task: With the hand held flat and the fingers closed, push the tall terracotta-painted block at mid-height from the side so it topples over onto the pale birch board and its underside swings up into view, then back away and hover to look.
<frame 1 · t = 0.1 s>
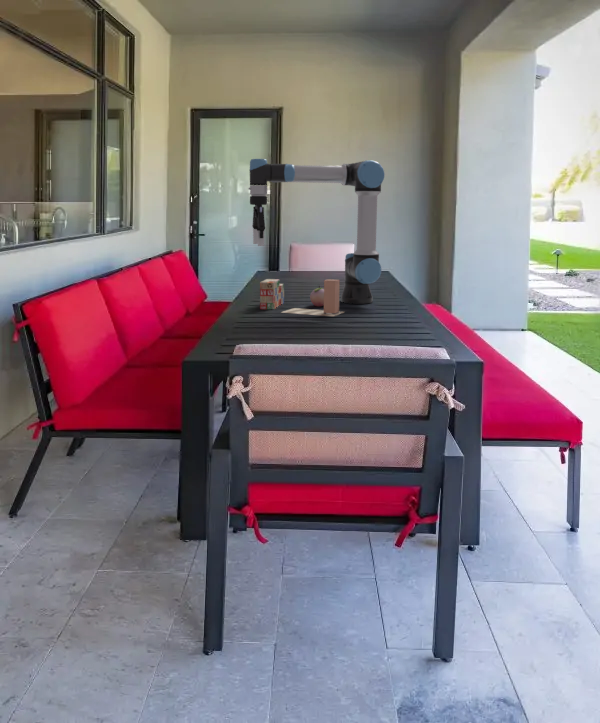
hand: (258, 245, 336), 28 cm above the table, tool pointing down, fingers open, 13 cm apart
block: (331, 313, 323), point 1 cm above the table, touching board
decorative fruit: (319, 308, 344), on the table
board: (313, 314, 325), on the table
stack of blocks: (272, 306, 349), on the table
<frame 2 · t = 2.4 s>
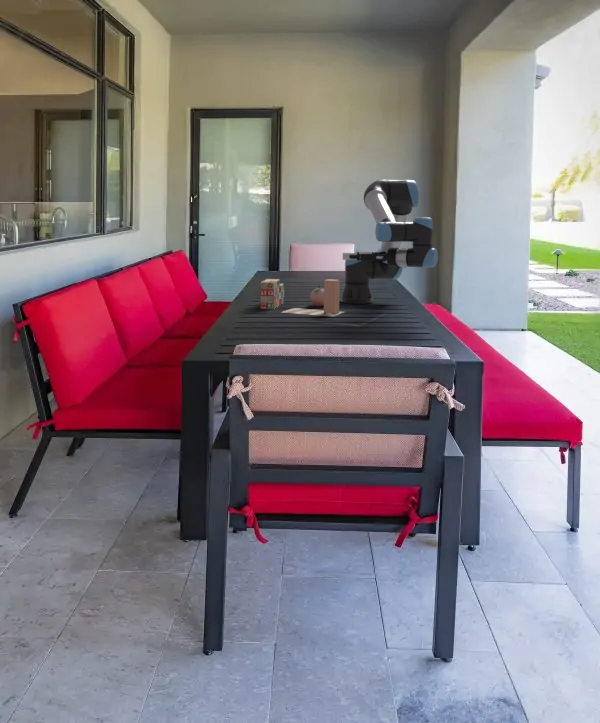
hand: (349, 255, 315), 25 cm above the table, tool horizontal, fingers open, 13 cm apart
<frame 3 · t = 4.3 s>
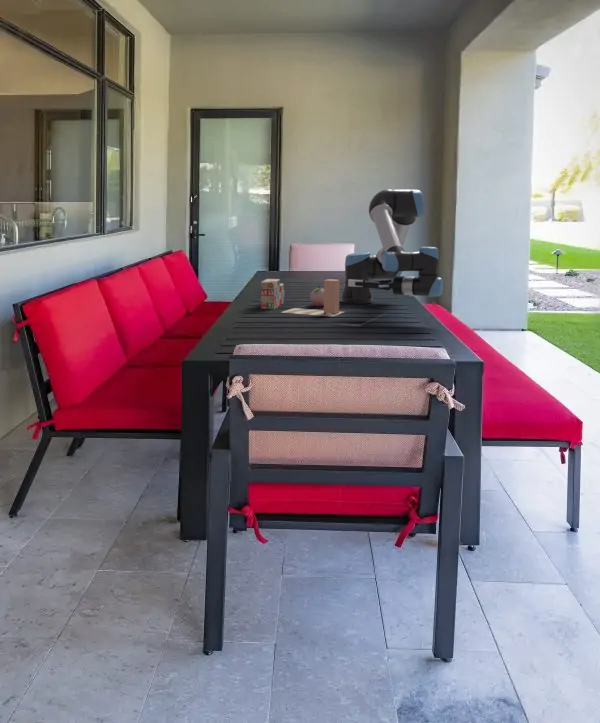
hand: (348, 282, 317), 14 cm above the table, tool horizontal, fingers closed
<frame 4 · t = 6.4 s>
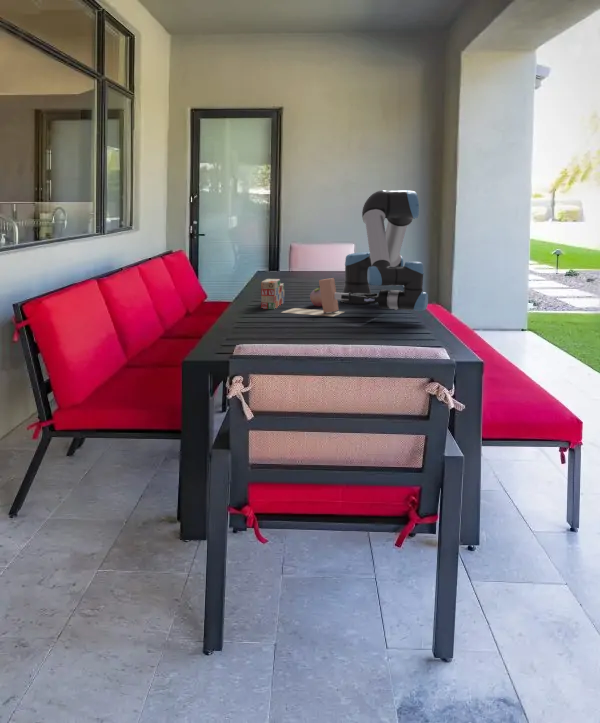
hand: (335, 295, 320), 9 cm above the table, tool horizontal, fingers closed
block: (331, 312, 323), point 1 cm above the table, tilted 10°, touching board, gripper
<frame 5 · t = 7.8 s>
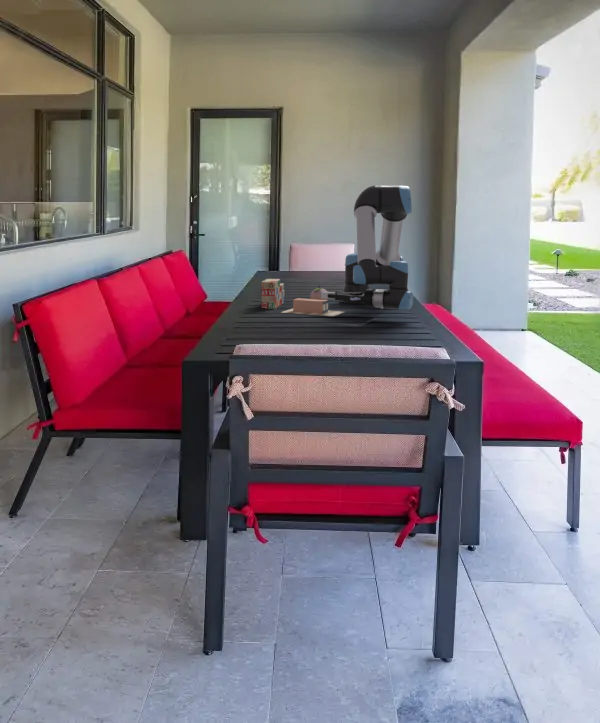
hand: (321, 294, 323), 8 cm above the table, tool horizontal, fingers closed
block: (325, 306, 323), point 3 cm above the table, tilted 90°, touching board
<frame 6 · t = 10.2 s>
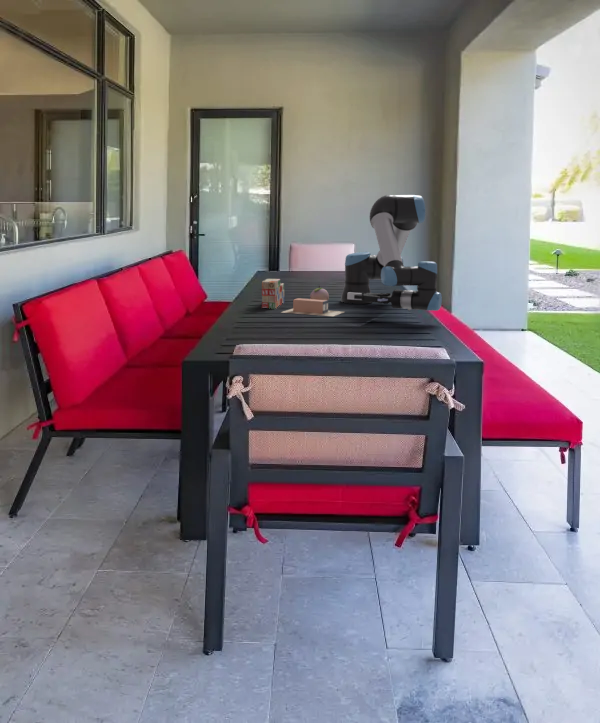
hand: (347, 295, 318), 9 cm above the table, tool horizontal, fingers closed
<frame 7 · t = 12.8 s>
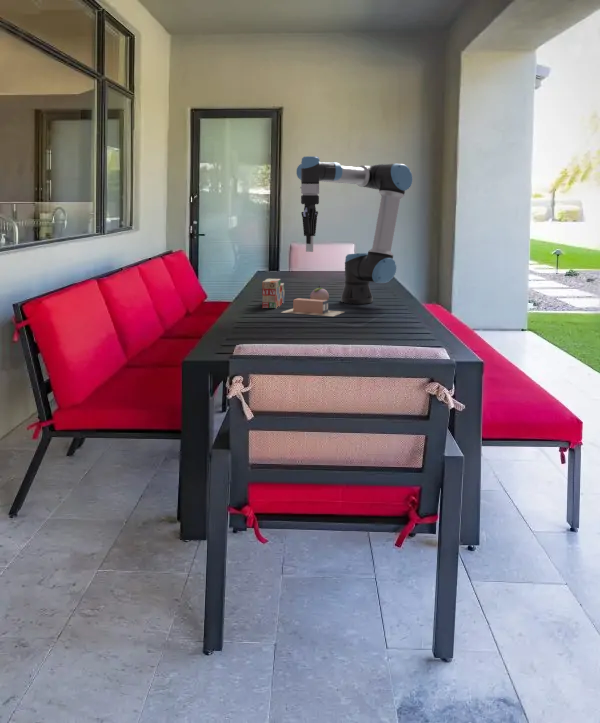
hand: (309, 251, 324), 26 cm above the table, tool pointing down, fingers closed
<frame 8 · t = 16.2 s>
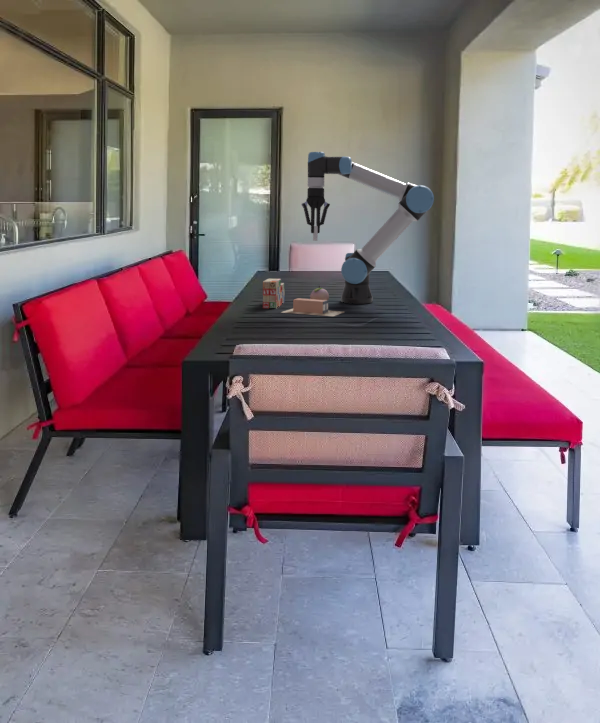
hand: (315, 240, 348), 29 cm above the table, tool pointing down, fingers closed
at the end: block tilted 90°; block 5.6 cm from the board (horizontally); the gripper is holding nothing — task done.
